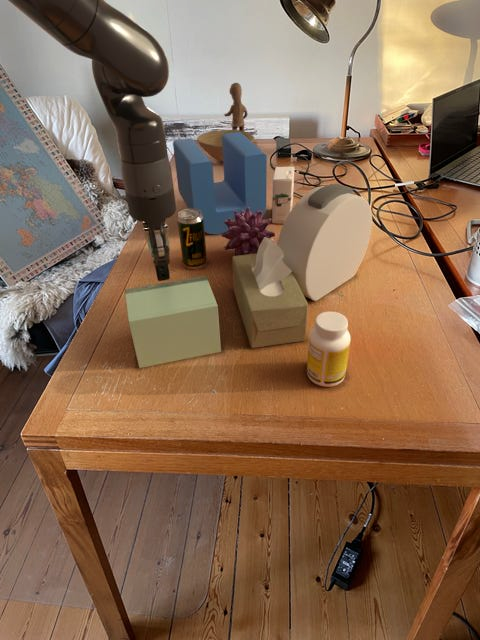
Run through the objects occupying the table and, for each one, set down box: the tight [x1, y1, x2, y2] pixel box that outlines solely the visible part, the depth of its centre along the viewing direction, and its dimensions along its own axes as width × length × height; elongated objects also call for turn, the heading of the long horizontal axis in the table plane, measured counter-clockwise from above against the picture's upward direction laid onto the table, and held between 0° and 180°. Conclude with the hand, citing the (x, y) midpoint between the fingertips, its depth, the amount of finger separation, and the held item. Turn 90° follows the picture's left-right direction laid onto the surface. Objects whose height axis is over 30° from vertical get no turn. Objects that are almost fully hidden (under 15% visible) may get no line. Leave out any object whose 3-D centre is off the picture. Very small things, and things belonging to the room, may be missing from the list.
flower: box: [220, 206, 276, 256], centre depth 100 cm, size 12×12×12 cm
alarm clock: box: [276, 183, 373, 302], centre depth 88 cm, size 21×8×20 cm, turn 135°
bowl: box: [196, 129, 255, 162], centre depth 149 cm, size 18×18×8 cm
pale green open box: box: [124, 275, 222, 369], centre depth 78 cm, size 14×9×10 cm, turn 105°
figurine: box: [223, 82, 248, 131], centre depth 159 cm, size 9×8×20 cm
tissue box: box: [231, 237, 309, 349], centre depth 82 cm, size 19×10×16 cm, turn 10°
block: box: [172, 132, 268, 235], centre depth 114 cm, size 18×18×18 cm
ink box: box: [271, 166, 295, 225], centre depth 115 cm, size 9×5×12 cm, turn 172°
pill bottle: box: [306, 311, 352, 388], centre depth 70 cm, size 6×6×11 cm
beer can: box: [177, 208, 208, 270], centre depth 98 cm, size 5×5×12 cm
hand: (163, 278), depth 82 cm, fingers closed
